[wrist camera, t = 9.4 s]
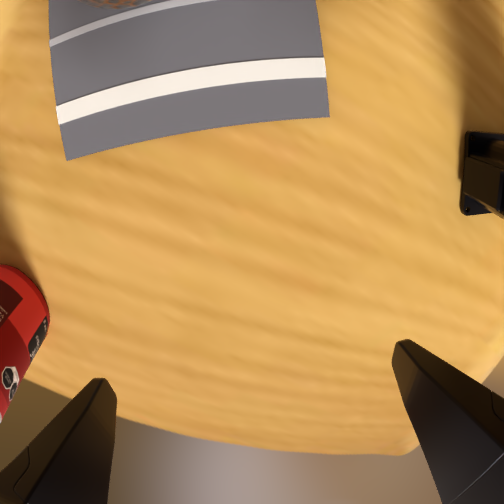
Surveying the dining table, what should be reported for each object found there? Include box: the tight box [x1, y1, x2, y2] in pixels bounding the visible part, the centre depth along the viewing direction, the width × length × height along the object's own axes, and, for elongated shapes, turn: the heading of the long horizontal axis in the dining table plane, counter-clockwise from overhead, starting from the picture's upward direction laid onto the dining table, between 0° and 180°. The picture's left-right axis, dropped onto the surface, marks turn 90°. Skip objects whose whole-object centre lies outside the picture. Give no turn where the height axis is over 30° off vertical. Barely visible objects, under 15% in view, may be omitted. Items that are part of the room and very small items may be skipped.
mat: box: [49, 0, 330, 161], centre depth 13 cm, size 16×16×1 cm
